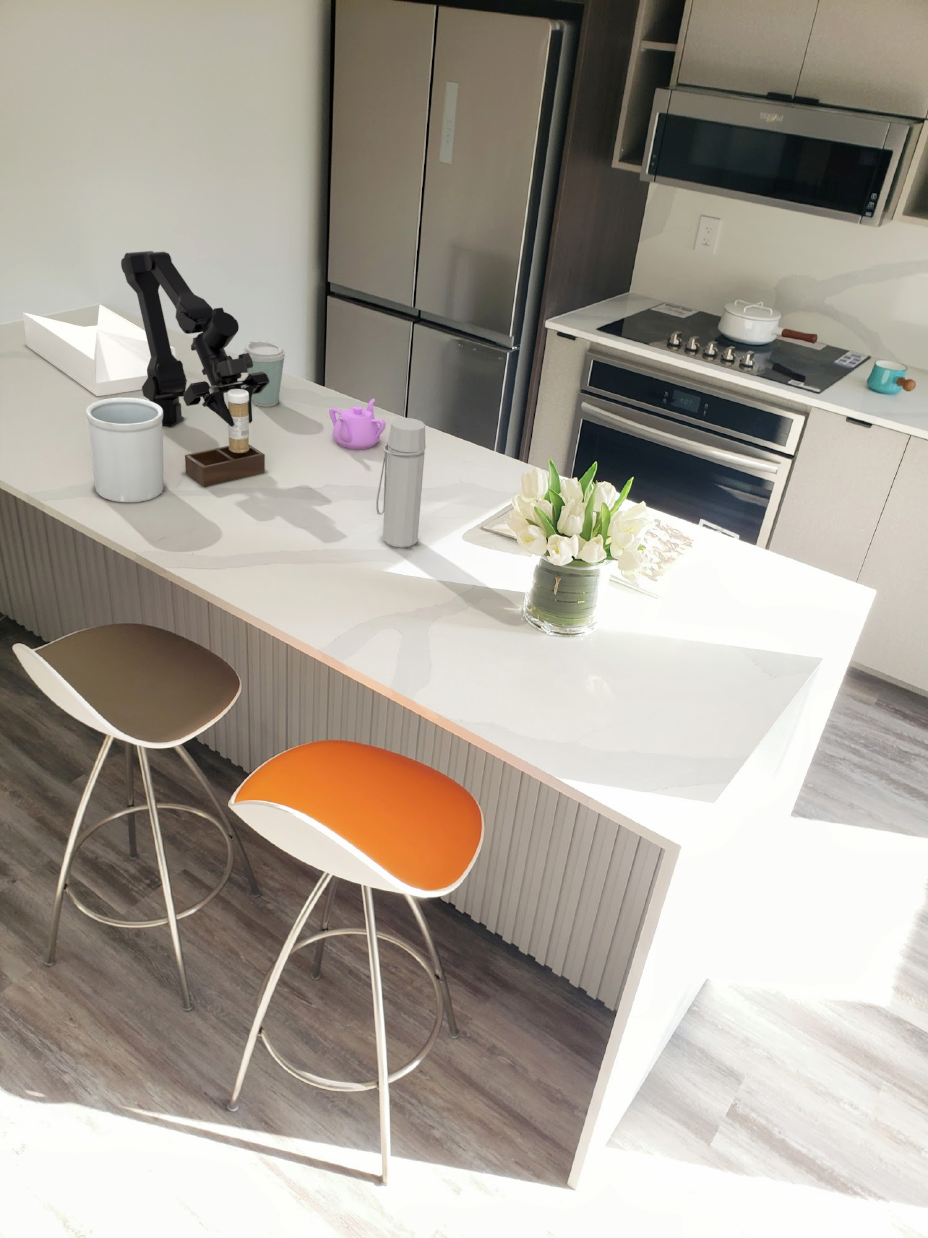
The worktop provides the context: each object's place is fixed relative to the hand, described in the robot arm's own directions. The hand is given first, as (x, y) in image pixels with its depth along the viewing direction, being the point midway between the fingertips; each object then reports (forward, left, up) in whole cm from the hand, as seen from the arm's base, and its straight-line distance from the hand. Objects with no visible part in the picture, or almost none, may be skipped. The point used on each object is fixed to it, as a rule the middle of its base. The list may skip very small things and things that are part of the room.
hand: (241, 423), depth 220 cm
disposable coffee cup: (-13, +43, -11) cm, 46 cm away
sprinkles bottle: (-1, +1, -7) cm, 7 cm away
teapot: (+17, +29, -11) cm, 35 cm away
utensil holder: (-17, -18, -11) cm, 27 cm away
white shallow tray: (-63, +49, -12) cm, 81 cm away
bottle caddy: (-3, -2, -11) cm, 12 cm away
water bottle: (+41, -17, -11) cm, 46 cm away
